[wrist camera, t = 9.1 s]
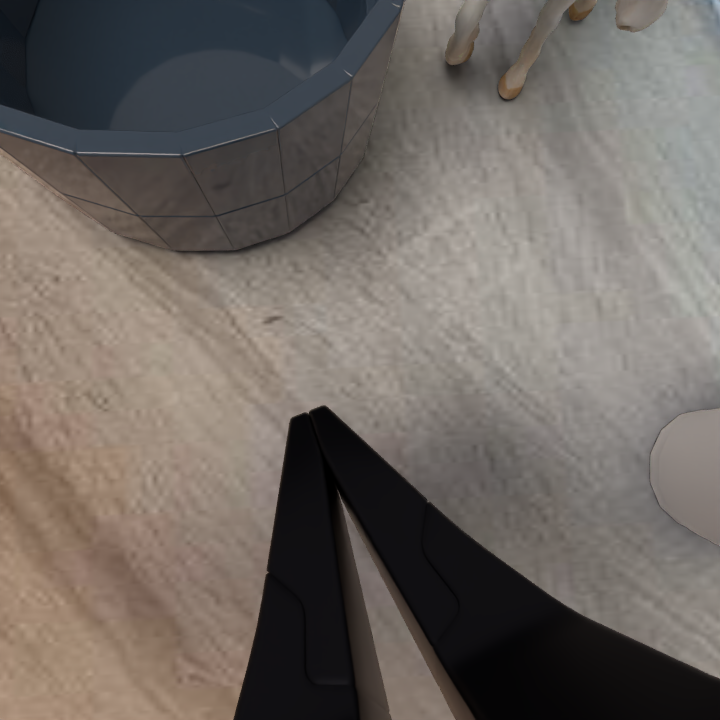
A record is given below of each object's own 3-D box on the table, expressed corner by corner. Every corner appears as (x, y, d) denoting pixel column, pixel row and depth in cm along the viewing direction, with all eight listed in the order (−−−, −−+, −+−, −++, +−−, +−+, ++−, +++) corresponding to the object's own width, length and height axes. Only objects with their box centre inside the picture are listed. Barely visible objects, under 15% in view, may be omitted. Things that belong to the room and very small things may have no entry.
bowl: (324, 298, 19) (338, 237, 11) (-42, 191, 17) (-366, 17, 9) (409, -7, 21) (480, -272, 12) (76, -137, 19) (-111, -556, 10)
